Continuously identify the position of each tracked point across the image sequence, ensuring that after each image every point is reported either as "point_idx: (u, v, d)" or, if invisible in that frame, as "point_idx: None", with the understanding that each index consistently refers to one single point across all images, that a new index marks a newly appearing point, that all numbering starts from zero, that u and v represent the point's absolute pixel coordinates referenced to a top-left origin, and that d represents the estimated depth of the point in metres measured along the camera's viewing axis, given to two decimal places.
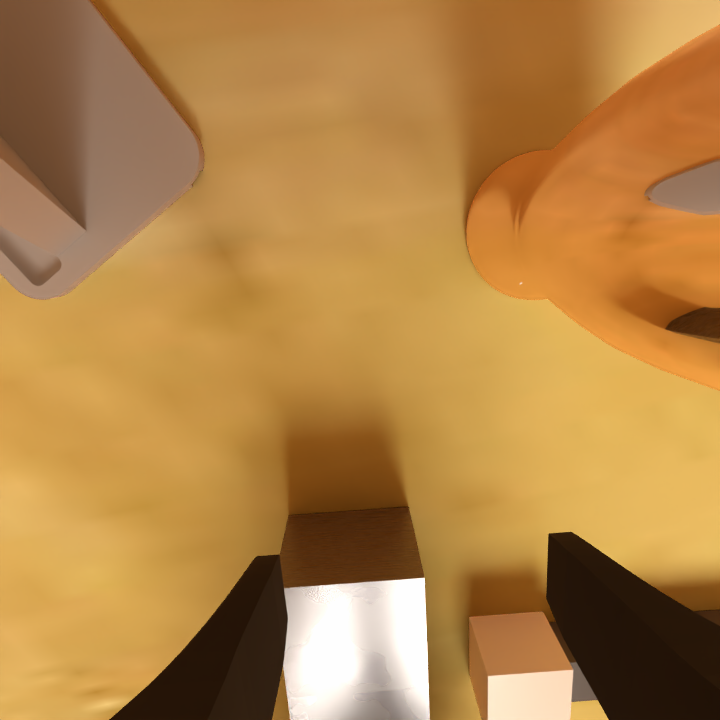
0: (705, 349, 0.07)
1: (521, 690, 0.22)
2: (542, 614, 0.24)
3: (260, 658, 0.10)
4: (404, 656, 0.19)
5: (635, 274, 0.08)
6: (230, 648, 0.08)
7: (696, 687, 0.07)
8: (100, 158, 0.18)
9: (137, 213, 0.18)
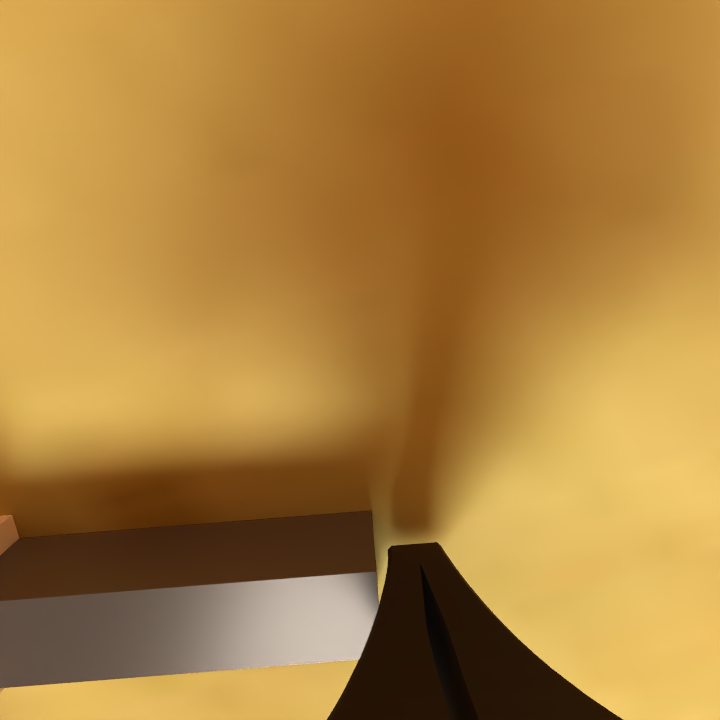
0: None
1: None
2: (3, 519, 0.13)
3: None
4: None
5: None
6: (420, 633, 0.08)
7: (468, 706, 0.07)
8: None
9: None
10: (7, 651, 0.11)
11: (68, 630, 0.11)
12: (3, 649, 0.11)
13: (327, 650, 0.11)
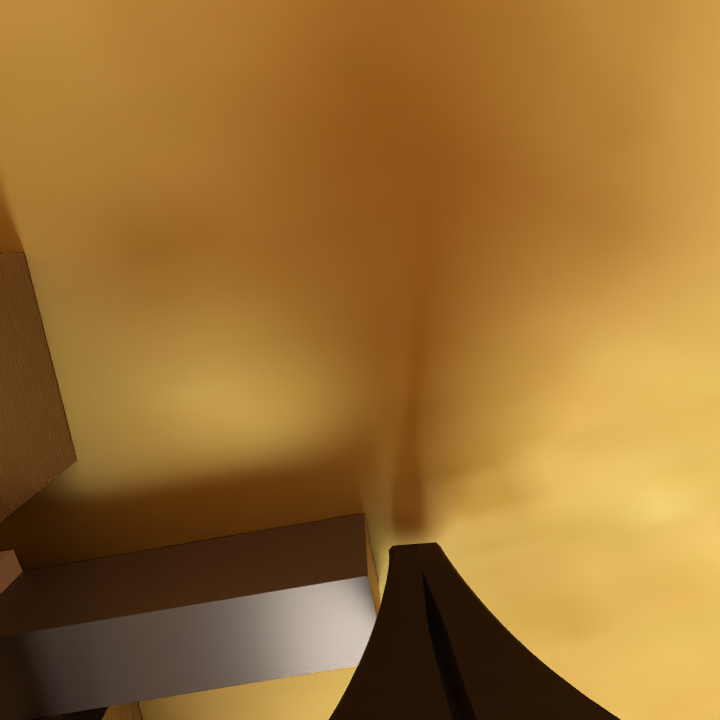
0: None
1: None
2: (3, 555, 0.13)
3: None
4: None
5: None
6: (421, 633, 0.08)
7: (467, 707, 0.07)
8: None
9: None
10: (15, 685, 0.11)
11: (71, 659, 0.11)
12: (11, 683, 0.11)
13: (328, 658, 0.11)
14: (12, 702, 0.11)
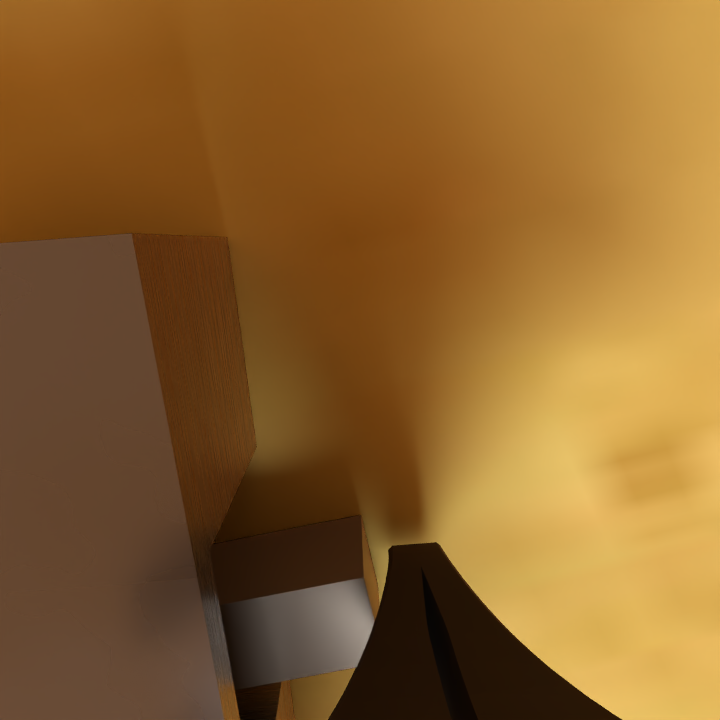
0: None
1: None
2: None
3: None
4: (118, 489, 0.07)
5: None
6: (421, 633, 0.08)
7: (468, 706, 0.07)
8: None
9: None
10: None
11: None
12: None
13: (327, 660, 0.11)
14: None
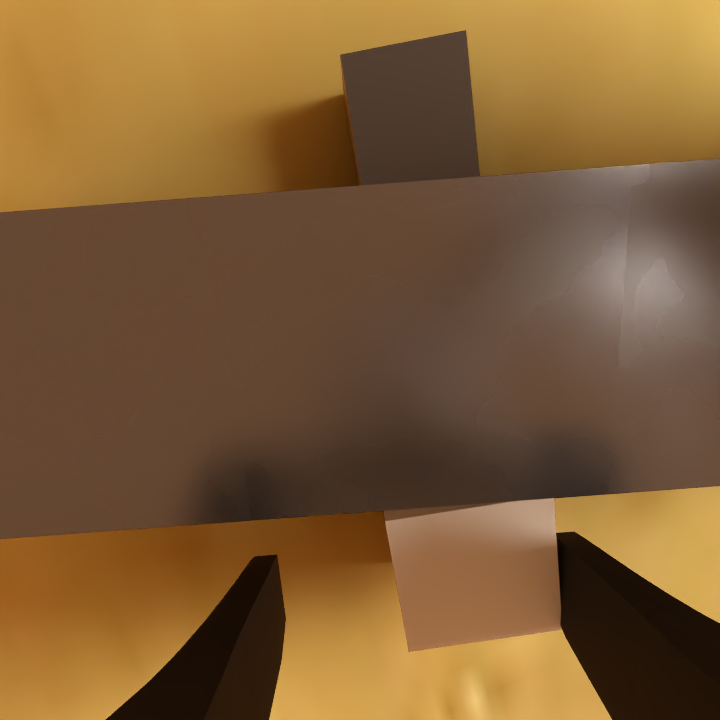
0: None
1: (438, 597, 0.11)
2: None
3: (257, 658, 0.10)
4: (109, 264, 0.08)
5: None
6: (227, 648, 0.08)
7: (702, 688, 0.07)
8: None
9: None
10: None
11: None
12: None
13: (455, 108, 0.09)
14: None
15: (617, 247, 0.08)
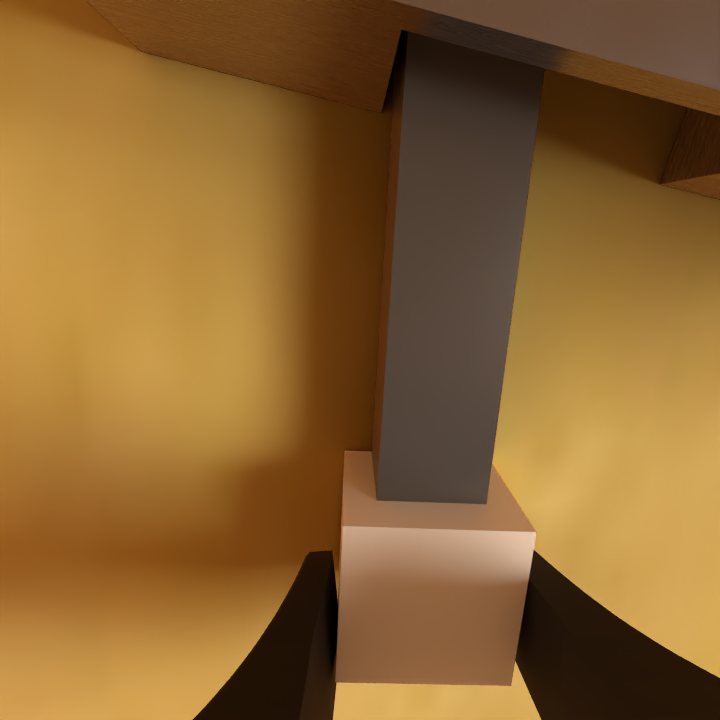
0: None
1: (383, 625, 0.10)
2: (344, 457, 0.12)
3: (325, 653, 0.10)
4: None
5: None
6: (305, 642, 0.08)
7: (606, 695, 0.07)
8: None
9: None
10: (444, 459, 0.10)
11: (429, 391, 0.10)
12: (440, 462, 0.10)
13: (524, 75, 0.08)
14: (465, 471, 0.10)
15: None
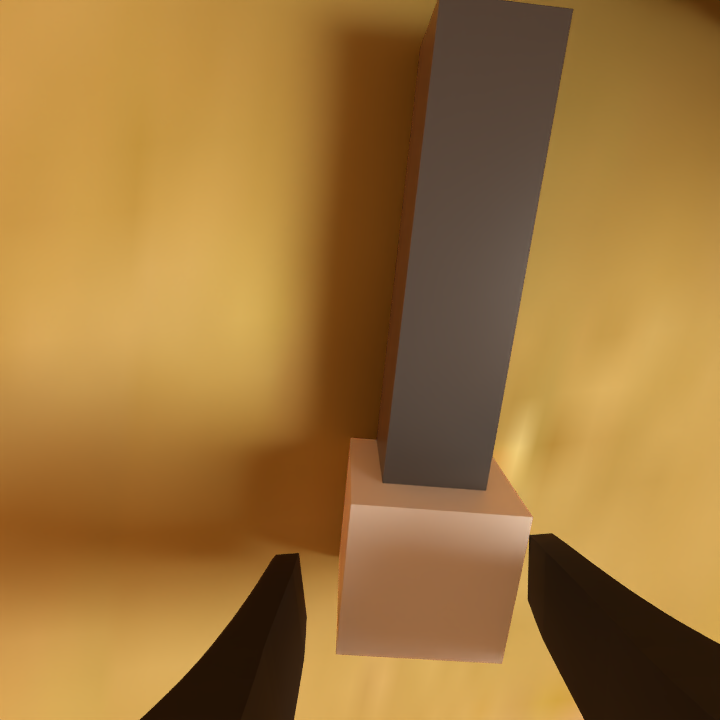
0: None
1: (384, 601, 0.10)
2: (350, 443, 0.13)
3: (284, 656, 0.10)
4: None
5: None
6: (257, 646, 0.08)
7: (664, 691, 0.07)
8: None
9: None
10: (448, 446, 0.11)
11: (437, 380, 0.10)
12: (444, 449, 0.11)
13: (541, 86, 0.09)
14: (467, 458, 0.11)
15: None
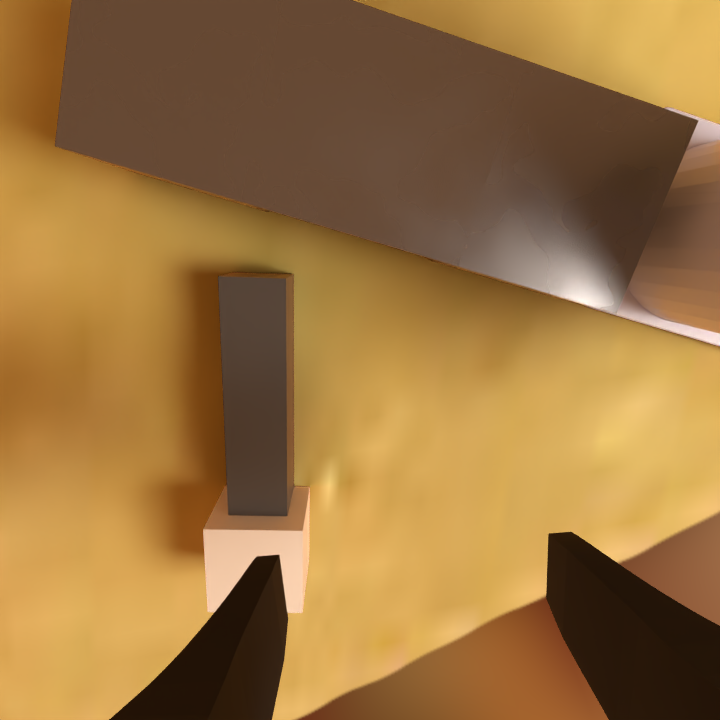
0: None
1: (229, 580, 0.19)
2: (224, 489, 0.22)
3: (260, 658, 0.10)
4: None
5: None
6: (230, 648, 0.08)
7: (696, 688, 0.07)
8: None
9: None
10: (261, 493, 0.19)
11: (249, 458, 0.19)
12: (259, 494, 0.19)
13: (276, 313, 0.17)
14: (273, 499, 0.19)
15: (505, 107, 0.13)
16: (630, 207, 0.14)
